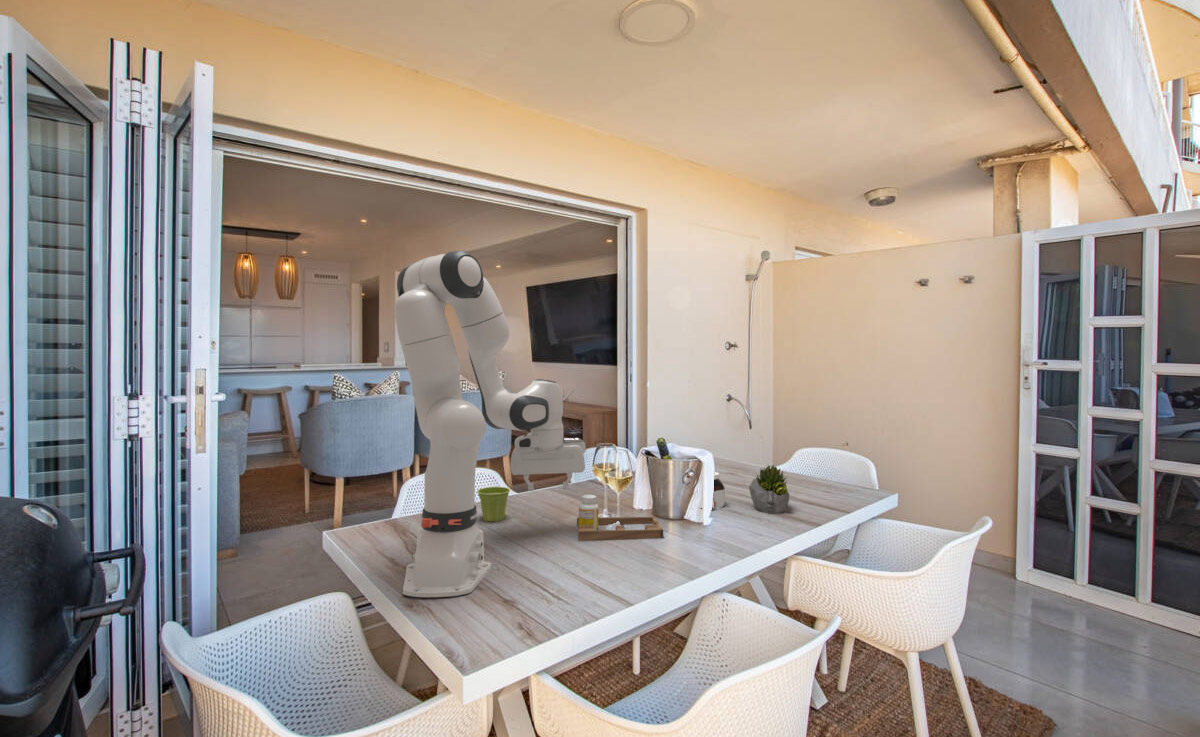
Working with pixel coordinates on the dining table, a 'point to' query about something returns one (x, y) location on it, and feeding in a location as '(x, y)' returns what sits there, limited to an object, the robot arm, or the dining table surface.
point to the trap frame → (621, 529)
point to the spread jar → (718, 492)
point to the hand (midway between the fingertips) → (548, 489)
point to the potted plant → (769, 491)
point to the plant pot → (493, 502)
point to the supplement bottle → (588, 512)
